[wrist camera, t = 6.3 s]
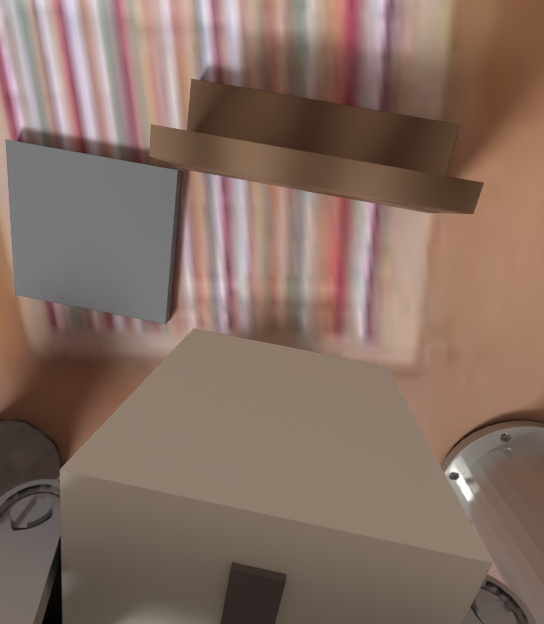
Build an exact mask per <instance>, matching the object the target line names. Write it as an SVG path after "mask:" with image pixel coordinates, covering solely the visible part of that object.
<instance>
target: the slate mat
mask: <svg viewBox="0 0 544 624" xmlns="http://www.w3.org/2000/svg"><path fill="white" fill-rule="evenodd" d="M6 154H7V170H8V187H9V203H10V220H11V236H12V253H13V269H14V286H15V295H18V296H24V297H29V298H34V299H39V300H44V301H50V302H55V303H60V304H65V305H70V306H76V307H81V308H86V309H91V310H96V311H102V312H107V313H112V314H117V315H122V316H128V317H133V318H138V319H143V320H148V321H154V322H159V323H164V324H166V323H167V322H168V321H169V320H170V311H171V299H172V287H173V276H174V264H175V252H176V240H177V228H178V216H179V205H180V193H181V181H182V171H179V170H174V169H168V168H163V167H157V166H151V165H146V164H140V163H135V162H129V161H124V160H118V159H112V158H107V157H101V156H96V155H90V154H84V153H79V152H73V151H68V150H62V149H57V148H51V147H45V146H40V145H34V144H29V143H23V142H17V141H12V140H6Z"/></svg>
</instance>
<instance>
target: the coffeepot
mask: <svg viewBox="0 0 544 624" xmlns="http://www.w3.org/2000/svg"><path fill="white" fill-rule="evenodd" d="M60 469H61V458H60V455H59V452H58V450H57V448H56V447H55V445H54V443H53V442H52V441H51V440H50V439H49V437H48V436H46V435H45V434H44V433H43V432H42V431H40V430H39V429H37V428H36V427H34V426H32V425H29V424H27V423H25V422H21V421H14V420H5V421H0V497H2V496H3V495H4V494H5V493H6V492H8V491H10V490H11V489H13V488H15V487H17V486H19V485H21V484H24V483H27V482H30V481H34V480H40V479H54V480H57V479H58V478H59V477H60Z"/></svg>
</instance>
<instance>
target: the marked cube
mask: <svg viewBox="0 0 544 624" xmlns="http://www.w3.org/2000/svg"><path fill="white" fill-rule="evenodd" d="M60 518H61V572H62V624H462V623H463V621H464V619H465V617H466V615H467V613H468V611H469V609H470V607H471V605H472V603H473V601H474V599H475V597H476V595H477V593H478V591H479V589H480V587H481V585H482V583H483V581H484V579H485V577H486V575H487V573H488V571H489V569H490V567H491V565H492V561H491V560H490V558H489V556H488V554H487V552H486V550H485V548H484V546H483V545H482V543H481V541H480V539H479V537H478V535H477V533H476V531H475V530H474V528H473V526H472V524H471V522H470V520H469V518H468V517H467V515H466V513H465V511H464V509H463V507H462V505H461V503H460V502H459V500H458V498H457V496H456V494H455V492H454V490H453V488H452V487H451V485H450V483H449V481H448V479H447V477H446V475H445V474H444V472H443V470H442V468H441V466H440V464H439V462H438V460H437V459H436V457H435V455H434V453H433V451H432V449H431V447H430V445H429V444H428V442H427V440H426V438H425V436H424V434H423V432H422V431H421V429H420V427H419V425H418V423H417V421H416V419H415V417H414V416H413V414H412V412H411V410H410V408H409V406H408V404H407V402H406V401H405V399H404V397H403V395H402V393H401V391H400V389H399V388H398V386H397V384H396V382H395V380H394V378H393V376H392V374H391V373H390V371H389V369H388V367H387V366H383V365H378V364H373V363H368V362H363V361H358V360H353V359H347V358H342V357H337V356H332V355H327V354H322V353H317V352H312V351H307V350H301V349H296V348H291V347H286V346H281V345H276V344H271V343H266V342H261V341H255V340H250V339H245V338H240V337H235V336H230V335H225V334H220V333H215V332H210V331H204V330H199V329H193V330H192V331H191V332H190V333H189V334H188V335H187V336H186V337H185V338H184V339H183V340H182V341H181V342H180V343H179V344H178V345H177V346H176V348H175V349H174V350H173V351H172V352H171V353H170V354H169V355H168V356H167V357H166V358H165V359H164V360H163V361H162V362H161V363H160V364H159V365H158V367H157V368H156V369H155V370H154V371H153V372H152V373H151V374H150V375H149V376H148V377H147V378H146V379H145V380H144V381H143V382H142V383H141V384H140V386H139V387H138V388H137V389H136V390H135V391H134V392H133V393H132V394H131V395H130V396H129V397H128V398H127V399H126V400H125V401H124V402H123V403H122V404H121V406H120V407H119V408H118V409H117V410H116V411H115V412H114V413H113V414H112V415H111V416H110V417H109V418H108V419H107V420H106V421H105V422H104V423H103V425H102V426H101V427H100V428H99V429H98V430H97V431H96V432H95V433H94V434H93V435H92V436H91V437H90V438H89V439H88V440H87V441H86V442H85V444H84V445H83V446H82V447H81V448H80V449H79V450H78V451H77V452H76V453H75V454H74V455H73V456H72V457H71V458H70V459H69V460H68V461H67V462H66V464H65V465H64V466H63V467H62V468H61V469H60Z"/></svg>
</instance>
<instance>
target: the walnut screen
mask: <svg viewBox="0 0 544 624" xmlns="http://www.w3.org/2000/svg"><path fill="white" fill-rule="evenodd" d="M459 127H460V125H458V124H452V123H447V122H441V121H435V120H429V119H423V118H417V117H412V116H406V115H400V114H394V113H388V112H382V111H377V110H371V109H365V108H359V107H353V106H347V105H342V104H336V103H330V102H324V101H318V100H312V99H306V98H301V97H295V96H289V95H283V94H277V93H271V92H266V91H260V90H254V89H248V88H242V87H236V86H231V85H225V84H219V83H213V82H207V81H201V80H195V79H191V89H190V101H189V113H188V124H187V131H186V130H180V129H175V128H169V127H163V126H157V125H152V124H151V134H150V152H149V156H150V157H153V158H156V159H159V160H162V161H165V162H167V163H170V164H173V165H176V166H179V167H182V168H185V169H188V170H192V171H198V172H203V173H209V174H214V175H220V176H226V177H231V178H237V179H242V180H248V181H254V182H259V183H265V184H270V185H276V186H281V187H287V188H293V189H298V190H304V191H309V192H315V193H321V194H326V195H332V196H337V197H343V198H349V199H354V200H360V201H365V202H371V203H376V204H382V205H388V206H393V207H399V208H404V209H410V210H416V211H421V212H427V213H457V214H473V213H474V210H475V207H476V205H477V202H478V199H479V196H480V193H481V190H482V187H483V184H484V183H482V182H476V181H471V180H465V179H459V178H454V177H448V176H445V173H446V170H447V166H448V163H449V160H450V157H451V153H452V150H453V147H454V143H455V140H456V137H457V133H458V130H459Z"/></svg>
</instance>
